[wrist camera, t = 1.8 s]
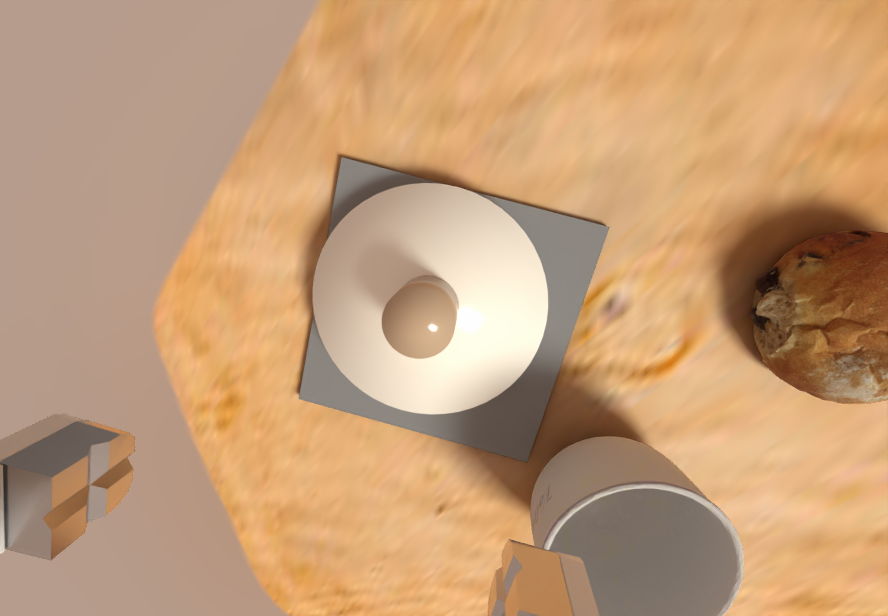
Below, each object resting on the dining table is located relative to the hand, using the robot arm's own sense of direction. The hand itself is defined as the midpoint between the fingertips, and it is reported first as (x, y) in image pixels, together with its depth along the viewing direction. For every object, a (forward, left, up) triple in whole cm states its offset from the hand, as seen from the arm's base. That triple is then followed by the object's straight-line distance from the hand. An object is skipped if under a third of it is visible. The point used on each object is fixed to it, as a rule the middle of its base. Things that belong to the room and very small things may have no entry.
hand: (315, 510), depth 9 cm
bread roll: (-24, -6, -20) cm, 32 cm away
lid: (0, 0, -19) cm, 19 cm away
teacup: (-16, +11, -20) cm, 28 cm away
